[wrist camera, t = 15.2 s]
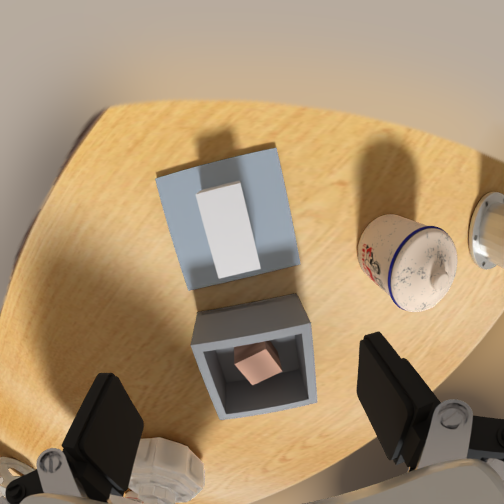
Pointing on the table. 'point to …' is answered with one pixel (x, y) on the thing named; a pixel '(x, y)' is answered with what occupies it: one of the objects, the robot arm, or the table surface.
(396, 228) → the teacup with lid
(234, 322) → the storage box
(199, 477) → the white tiered tall piece
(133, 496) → the fruit juice
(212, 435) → the table surface
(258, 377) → the block
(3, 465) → the portable electronic device stand
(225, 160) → the lid
